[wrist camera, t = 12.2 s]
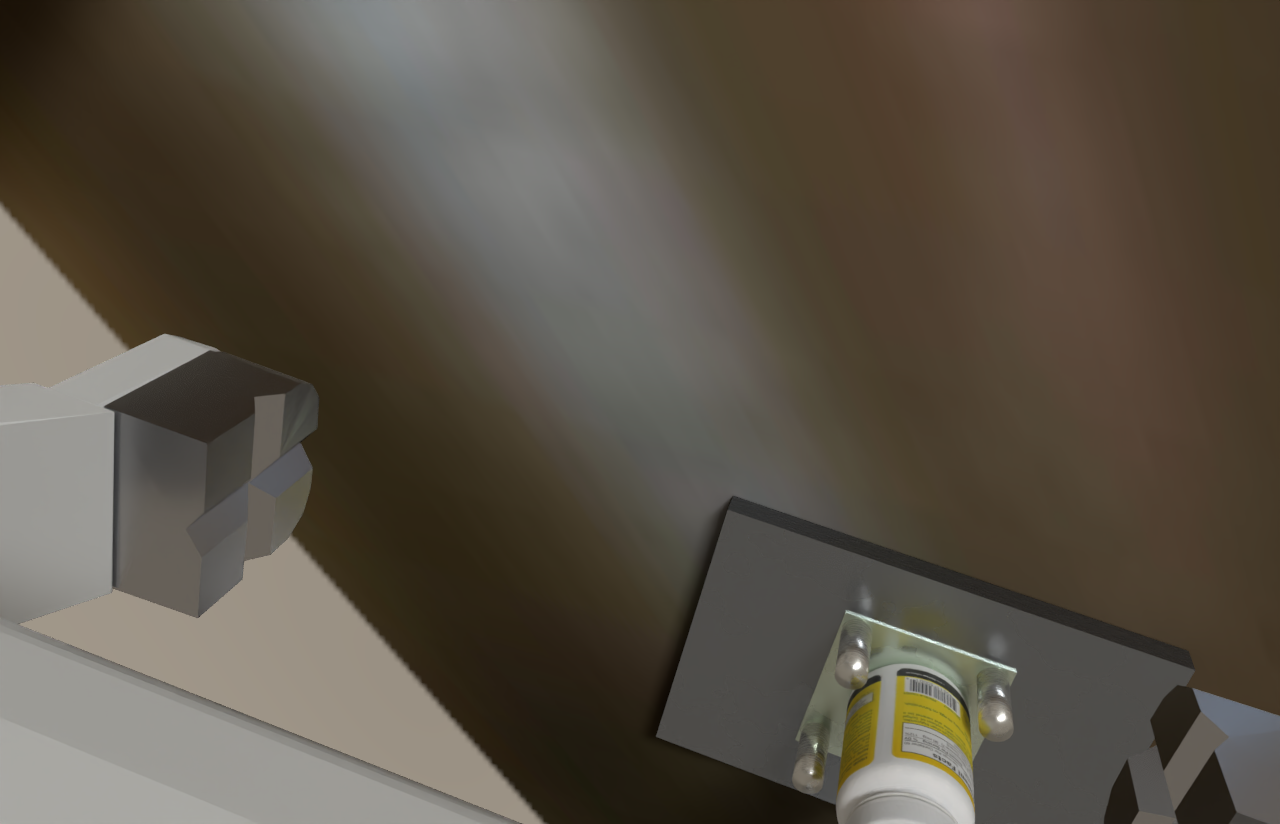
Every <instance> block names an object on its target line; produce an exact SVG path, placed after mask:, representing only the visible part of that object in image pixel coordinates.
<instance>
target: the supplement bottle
mask: <svg viewBox="0 0 1280 824" xmlns="http://www.w3.org/2000/svg"><path fill="white" fill-rule="evenodd" d="M970 727H971V725H970V715H969V709H968V706H967V703H966V701H965V699H964V697H963V695H962V693H961V692H960V691H959V689H958V688H957V687H956V686H955V685H954V684H953V683H952V682H951V681H950V680H949V679H948V678H946V677H945V676H944V675H942V674H941V673H939V672H937V671H935V670H932V669H930V668H927V667H924V666H921V665H915V664H905V663H903V664H892V665H888V666H884V667H881V668H878V669H876V670H874V671H872V672H870V673H868V679H867V682H866V684H865V685H864V686H863V687H862V688H859V689H855V690H852V692H851V694H850V697H849V700H848V706H847V713H846V720H845V730H844V738H843V747H842V755H841V764H840V772H839V781H838V790H837V798H836V813H837V819H838V823H839V824H975V804H974V786H973V765H972V746H971V728H970Z"/></svg>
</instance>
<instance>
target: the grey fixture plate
mask: <svg viewBox="0 0 1280 824" xmlns="http://www.w3.org/2000/svg"><path fill="white" fill-rule="evenodd" d="M903 663H905V664H915V665H921V666H924V667H927V668H930V669H932V670H935V671H937V672H939V673H941V674H942V675H944V676H945V677H946V678H948V679H949V680H950V681H951V682H952V683H953V684H954V685H955V686H956V687H957V688H958V689H959V691H960V692H961V693H962V695H963V697H964V699H965V701H966V703H967V706H968V709H969V715H970V725H971V727H970V728H971V746H972V765H973V786H974V804H975V824H1104V816H1105V812H1106V808H1107V804H1108V801H1109V797H1110V793H1111V789H1112V787H1113V785H1114V783H1115V781H1116V779H1117V777H1118V775H1119V773H1120V772H1121V770H1122V768H1123V766H1124V764H1125V762H1126V760H1127V758H1130V757H1132V756H1134V755H1137V754H1139V753H1141V752H1143V751H1146V750H1148V749H1149V747H1150V745H1151V744H1152V742H1153V740H1154V739H1155V737H1154V733H1153V729H1152V726H1151V722H1150V719H1151V718H1152V716H1153V714H1154V713H1155V711H1156V709H1157V708H1158V706H1159V705H1160V703H1161V701H1162V700H1163V698H1164V697H1165V696H1166V695H1167V694H1168V693H1169V692H1170V691H1171V690H1172V689H1174V688H1175V687H1176V686H1177V685H1181V686H1185V687H1186V685H1187V683H1188V681H1189V680H1190V678H1191V676H1192V675H1193V673H1194V671H1195V668H1194V665H1193V663H1192V660H1191V657H1190V654H1189V651H1186V650H1183V649H1180V648H1178V647H1175V646H1172V645H1169V644H1166V643H1163V642H1160V641H1157V640H1154V639H1151V638H1148V637H1145V636H1142V635H1139V634H1136V633H1134V632H1131V631H1128V630H1125V629H1122V628H1119V627H1116V626H1113V625H1110V624H1107V623H1104V622H1101V621H1098V620H1095V619H1093V618H1090V617H1087V616H1084V615H1081V614H1078V613H1075V612H1072V611H1069V610H1066V609H1063V608H1060V607H1057V606H1054V605H1051V604H1049V603H1046V602H1043V601H1040V600H1037V599H1034V598H1031V597H1028V596H1025V595H1022V594H1019V593H1016V592H1013V591H1010V590H1008V589H1005V588H1002V587H999V586H996V585H993V584H990V583H987V582H984V581H981V580H978V579H975V578H972V577H969V576H967V575H964V574H961V573H958V572H955V571H952V570H949V569H946V568H943V567H940V566H937V565H934V564H931V563H928V562H925V561H923V560H920V559H917V558H914V557H911V556H908V555H905V554H902V553H899V552H896V551H893V550H890V549H887V548H884V547H882V546H879V545H876V544H873V543H870V542H867V541H864V540H861V539H858V538H855V537H852V536H849V535H846V534H843V533H840V532H838V531H835V530H832V529H829V528H826V527H823V526H820V525H817V524H814V523H811V522H808V521H805V520H802V519H799V518H797V517H794V516H791V515H788V514H785V513H782V512H779V511H776V510H773V509H770V508H767V507H764V506H761V505H758V504H756V503H753V502H750V501H747V500H744V499H741V498H738V497H735V496H733V498H732V500H731V503H730V505H729V508H728V510H727V513H726V517H725V520H724V523H723V526H722V529H721V532H720V536H719V539H718V542H717V545H716V548H715V551H714V555H713V558H712V561H711V564H710V567H709V570H708V574H707V577H706V580H705V583H704V586H703V589H702V592H701V596H700V599H699V602H698V605H697V608H696V611H695V615H694V618H693V621H692V624H691V627H690V630H689V634H688V637H687V640H686V643H685V646H684V649H683V653H682V656H681V659H680V662H679V665H678V668H677V671H676V675H675V678H674V681H673V684H672V687H671V690H670V694H669V697H668V700H667V703H666V706H665V709H664V713H663V716H662V719H661V722H660V725H659V728H658V732H657V735H656V737H658V738H661V739H663V740H666V741H668V742H671V743H674V744H676V745H679V746H682V747H684V748H687V749H690V750H692V751H695V752H698V753H700V754H703V755H705V756H708V757H711V758H713V759H716V760H719V761H721V762H724V763H727V764H729V765H732V766H735V767H737V768H740V769H742V770H745V771H748V772H750V773H753V774H756V775H758V776H761V777H764V778H766V779H769V780H772V781H774V782H777V783H779V784H782V785H785V786H787V787H790V788H793V789H795V790H798V791H800V792H802V793H805V794H808V795H811V796H814V797H816V798H819V799H822V800H824V801H827V802H830V803H832V804H835V805H836V798H837V790H838V781H839V772H840V764H841V755H842V747H843V738H844V730H845V720H846V713H847V706H848V700H849V697H850V694H851V692H852V690H855V689H859V688H862V687H863V686H864V685H865V684H866V682H867V679H868V673H870V672H872V671H874V670H876V669H878V668H881V667H884V666H888V665H892V664H903Z"/></svg>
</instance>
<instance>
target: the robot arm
mask: <svg viewBox="0 0 1280 824" xmlns="http://www.w3.org/2000/svg"><path fill="white" fill-rule="evenodd" d="M318 406H319V397H318V395H317V393H316V391H315V389H314V387H313V385H312V384H310V383H307V382H304V381H302V380H299V379H296V378H293V377H291V376H288V375H285V374H282V373H280V372H277V371H274V370H272V369H269V368H266V367H263V366H261V365H258V364H255V363H252V362H250V361H247V360H244V359H242V358H239V357H236V356H233V355H231V354H228V353H225V352H220V351H219V350H218V349H216V348H214V347H210V346H207V345H204V344H201V343H198V342H194V341H191V340H188V339H185V338H182V337H178V336H173V335H168V334H163V335H161V336H159V337H157V338H155V339H152V340H150V341H148V342H146V343H144V344H142V345H140V346H137V347H135V348H133V349H131V350H129V351H127V352H125V353H122V354H120V355H118V356H116V357H114V358H112V359H110V360H107V361H105V362H103V363H101V364H99V365H97V366H95V367H92V368H90V369H88V370H86V371H84V372H82V373H79V374H77V375H75V376H73V377H71V378H69V379H67V380H64V381H62V382H60V383H58V384H56V385H54V386H52V387H49V388H47V387H44V386H41V385H39V384H35V383H25V384H12V385H0V824H522V823H519V822H516V821H514V820H511V819H509V818H506V817H504V816H501V815H498V814H496V813H494V812H491V811H489V810H486V809H484V808H481V807H478V806H476V805H473V804H471V803H468V802H466V801H463V800H461V799H458V798H456V797H453V796H451V795H448V794H445V793H443V792H441V791H438V790H436V789H433V788H431V787H428V786H425V785H423V784H420V783H418V782H415V781H413V780H410V779H408V778H405V777H403V776H400V775H397V774H395V773H392V772H390V771H388V770H385V769H382V768H380V767H377V766H375V765H372V764H370V763H367V762H365V761H362V760H360V759H357V758H355V757H352V756H349V755H347V754H344V753H342V752H339V751H337V750H334V749H332V748H329V747H327V746H324V745H322V744H319V743H317V742H314V741H312V740H309V739H307V738H304V737H302V736H299V735H297V734H294V733H291V732H289V731H286V730H284V729H281V728H279V727H276V726H274V725H271V724H269V723H266V722H263V721H261V720H259V719H256V718H254V717H251V716H248V715H246V714H243V713H241V712H238V711H236V710H233V709H231V708H228V707H226V706H223V705H221V704H218V703H216V702H213V701H211V700H208V699H205V698H203V697H200V696H198V695H195V694H193V693H190V692H188V691H185V690H183V689H180V688H177V687H175V686H173V685H170V684H168V683H165V682H162V681H160V680H157V679H155V678H152V677H150V676H147V675H145V674H142V673H140V672H137V671H135V670H132V669H130V668H127V667H125V666H122V665H120V664H117V663H114V662H112V661H109V660H107V659H104V658H102V657H99V656H97V655H94V654H92V653H89V652H87V651H84V650H82V649H79V648H77V647H74V646H71V645H69V644H66V643H64V642H61V641H59V640H56V639H54V638H51V637H49V636H46V635H44V634H41V633H39V632H36V631H33V630H31V629H28V628H26V627H23V626H21V625H18V624H20V623H23V622H26V621H29V620H32V619H35V618H38V617H41V616H44V615H46V614H50V613H53V612H56V611H59V610H61V609H65V608H68V607H71V606H74V605H76V604H80V603H83V602H86V601H89V600H92V599H95V598H98V597H101V596H104V595H107V594H110V593H112V588H113V589H116V590H119V591H122V592H125V593H128V594H131V595H134V596H136V597H139V598H142V599H145V600H148V601H150V602H153V603H156V604H159V605H162V606H165V607H168V608H171V609H173V610H176V611H179V612H182V613H185V614H188V615H190V616H193V617H196V618H199V617H200V616H201V615H202V614H203V613H204V612H205V611H207V610H208V609H209V608H210V607H211V606H212V605H213V604H215V603H216V602H217V601H218V600H219V599H220V598H221V597H223V596H224V595H225V594H226V593H227V592H228V591H230V590H231V589H232V588H233V587H234V586H235V585H236V584H238V583H239V582H240V581H241V580H242V578H243V565H244V561H246V560H250V559H254V558H258V557H263V556H267V555H271V554H272V553H273V552H274V551H275V550H276V549H277V548H278V547H279V546H280V545H281V544H282V543H283V542H285V541H286V540H287V539H288V537H289V536H290V534H291V532H292V531H293V529H294V527H295V526H296V524H297V522H298V521H299V519H300V517H301V516H302V514H303V511H304V508H305V505H306V502H307V498H308V495H309V492H310V486H311V478H312V470H313V468H312V466H311V464H310V462H309V460H308V458H307V456H306V454H305V451H304V449H303V447H302V445H301V442H302V441H303V440H305V439H306V438H307V437H308V436H309V435H310V434H311V433H312V432H314V431H315V430H316V429H317V421H318ZM1150 722H1151V726H1152V729H1153V733H1154V737H1155V741H1156V745H1157V746H1155V747H1153V748H1150V749H1148V750H1146V751H1143V752H1141V753H1139V754H1137V755H1134V756H1132V757H1130V758H1127V760H1126V762H1125V764H1124V766H1123V768H1122V770H1121V772H1120V773H1119V775H1118V777H1117V779H1116V781H1115V783H1114V785H1113V787H1112V789H1111V793H1110V797H1109V801H1108V804H1107V808H1106V812H1105V816H1104V824H1280V716H1278V715H1275V714H1272V713H1269V712H1265V711H1262V710H1259V709H1256V708H1253V707H1250V706H1247V705H1243V704H1240V703H1237V702H1234V701H1231V700H1228V699H1225V698H1222V697H1218V696H1215V695H1212V694H1209V693H1206V692H1203V691H1200V690H1196V689H1193V688H1189V687H1185V686H1181V685H1177V686H1176V687H1175V688H1174V689H1172V690H1171V691H1170V692H1169V693H1168V694H1167V695H1166V696H1165V697H1164V698H1163V700H1162V701H1161V703H1160V705H1159V706H1158V708H1157V709H1156V711H1155V713H1154V714H1153V716H1152V718H1151V719H1150Z"/></svg>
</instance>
